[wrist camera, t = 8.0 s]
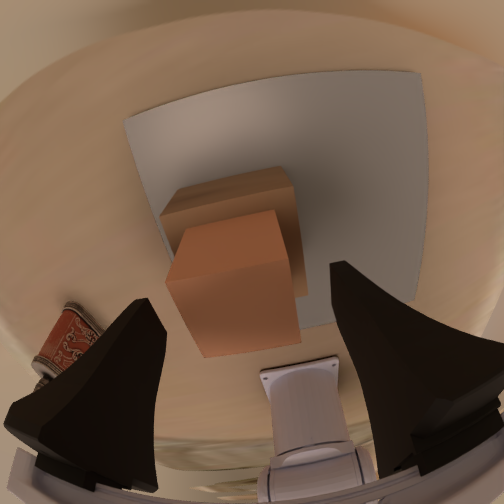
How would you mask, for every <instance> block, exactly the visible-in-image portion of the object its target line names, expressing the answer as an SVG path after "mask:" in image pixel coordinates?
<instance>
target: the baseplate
mask: <svg viewBox="0 0 504 504" xmlns="http://www.w3.org/2000/svg"><path fill="white" fill-rule="evenodd" d="M123 124H124V128H125V131H126V134H127V138H128V141H129V144H130V148H131V151H132V154H133V157H134V161H135V164H136V167H137V170H138V173H139V176H140V179H141V182H142V185H143V188H144V190H145V193H146V196H147V199H148V202H149V204H150V207H151V210H152V213H153V215H154V218H155V221H156V223H157V226H158V228H159V231H160V234H161V236H162V239H163V241H164V244H165V246H166V249H167V251H168V254H169V256H170V258H171V261H172V263H173V260H174V255H173V252H172V250H171V247H170V245H169V242H168V239H167V237H166V234H165V232H164V229H163V226H162V224H161V221H160V218H159V216H160V214H161V213H162V211H163V210H164V208H165V207H166V205H167V204H168V202H169V201H170V200H171V198H172V197H173V195H174V194H175V192H176V191H177V190H178V189H181V188H185V187H189V186H192V185H196V184H200V183H204V182H208V181H212V180H216V179H220V178H225V177H229V176H233V175H238V174H242V173H247V172H252V171H256V170H261V169H266V168H271V167H276V166H281V167H282V168H283V170H284V172H285V173H286V175H287V177H288V178H289V180H290V181H291V183H292V185H293V187H294V193H295V199H296V206H297V212H298V219H299V225H300V232H301V239H302V246H303V254H304V262H305V269H306V278H307V286H308V295H307V296H303V297H298V298H295V302H296V309H297V315H298V322H299V329H300V330H301V329H306V328H310V327H315V326H320V325H324V324H328V323H333V322H336V319H335V315H334V312H333V308H332V305H331V286H330V268H329V263H333V262H338V261H342V260H345V261H347V262H348V263H349V264H351V265H352V266H353V267H354V268H356V269H357V270H358V271H359V272H361V273H362V274H363V275H365V276H366V277H367V278H368V279H370V280H371V281H372V282H374V283H375V284H376V285H378V286H379V287H380V288H382V289H383V290H384V291H386V292H387V293H389V294H390V295H392V296H393V297H395V298H396V299H398V300H399V301H401V302H403V303H406V302H410V301H413V300H414V299H415V295H416V290H417V284H418V279H419V273H420V267H421V261H422V254H423V247H424V238H425V229H426V218H427V203H428V172H429V165H428V134H427V120H426V109H425V100H424V93H423V86H422V79H421V73H414V72H400V71H376V70H355V71H330V72H316V73H306V74H296V75H288V76H281V77H274V78H268V79H262V80H256V81H251V82H246V83H241V84H236V85H232V86H227V87H223V88H219V89H215V90H211V91H207V92H203V93H200V94H196V95H193V96H189V97H186V98H183V99H180V100H176V101H173V102H170V103H167V104H164V105H161V106H158V107H156V108H153V109H150V110H147V111H145V112H142V113H140V114H137V115H134V116H132V117H130V118H127V119H125V120H123Z"/></svg>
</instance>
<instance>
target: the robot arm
mask: <svg viewBox="0 0 504 504" xmlns="http://www.w3.org/2000/svg"><path fill="white" fill-rule="evenodd" d="M329 268H330V286H331V305H332V308H333V312H334V315H335V319H336V322H337V325H338V328H339V330H340V333H341V335H342V337H343V340H344V342H345V344H346V347H347V349H348V352H349V354H350V356H351V359H352V361H353V364H354V366H355V368H356V371H357V374H358V376H359V379H360V383H361V386H362V390H363V394H364V398H365V402H366V406H367V410H368V415H369V419H370V424H371V429H372V434H373V440H374V446H375V452H376V459H377V468H378V474H379V479H380V480H376V474H375V470H374V466H373V462H372V459H371V456H370V453H369V451H368V450H367V449H365V448H363V447H362V446H358V447H355V449H354V445H353V441H352V440H350V437H349V433H348V429H347V425H346V421H345V417H344V413H343V409H342V405H341V401H340V397H339V393H338V389H337V386H338V369H339V360H338V357H331V358H327V359H322V360H318V361H313V362H308V363H304V364H299V365H293V366H288V367H283V368H277V369H271V370H265V371H261V372H260V378H261V381H262V384H263V386H264V389H265V392H266V394H267V397H268V399H269V402H270V405H271V416H272V427H273V439H274V451H275V457H271V458H270V465H268V466H265V467H264V469H263V471H262V472H261V473H260V475H259V477H258V483H257V495H258V501H259V503H203V502H191V501H181V500H172V499H165V498H159V497H153V496H147V495H142V494H137V493H133V492H128V491H124V490H122V488H123V489H128V490H131V489H134V490H139V491H145V492H149V493H154V492H155V491H157V490H158V483H157V476H156V470H155V458H154V412H155V402H156V396H157V391H158V386H159V382H160V377H161V372H162V368H163V363H164V358H165V352H166V341H167V331H166V330H165V328H164V326H163V325H162V323H161V321H160V319H159V318H158V316H157V314H156V312H155V310H154V309H153V307H152V305H151V303H150V301H149V299H148V298H143V299H136V300H134V301H133V302H132V303H131V304H130V305H129V306H128V307H127V308H126V309H125V310H124V311H123V312H122V313H121V314H120V315H119V316H118V317H117V319H116V320H115V321H114V322H113V323H112V324H111V325H110V326H109V327H108V328H107V330H106V331H105V332H104V333H103V334H102V335H101V336H100V337H99V338H98V339H97V340H96V341H95V342H94V343H93V344H92V345H91V346H90V348H89V349H88V350H87V351H86V352H85V353H84V354H83V355H82V356H80V357H79V358H78V359H77V360H76V361H75V362H74V363H73V364H72V365H70V366H69V367H68V368H67V369H66V370H64V371H63V372H62V373H60V374H59V375H58V376H57V377H55V378H54V379H53V380H51V381H50V382H49V383H47V384H46V385H44V386H43V387H41V388H39V389H38V390H36V391H35V392H33V393H31V394H29V395H27V396H25V397H23V398H21V399H20V400H18V401H16V402H13V403H12V405H11V407H10V409H9V411H8V414H7V416H6V418H5V421H4V427H5V428H6V429H7V430H8V431H9V432H10V433H11V434H13V435H14V436H15V437H17V438H18V439H19V440H21V441H22V442H23V443H25V444H26V445H28V446H29V447H31V448H32V449H34V450H35V451H37V452H38V455H37V457H36V456H34V455H32V454H30V453H29V452H26V451H25V450H23V449H21V448H17V451H16V454H15V457H14V461H13V465H12V468H11V472H10V476H9V480H8V485H7V489H8V491H10V492H11V493H12V494H13V495H15V496H16V497H17V498H19V499H20V500H21V501H22V502H24V503H25V504H491V503H492V502H493V501H495V500H496V499H497V498H498V497H499V496H500V495H501V494H502V493H503V492H504V412H503V413H501V414H500V413H499V411H498V409H497V408H499V407H500V406H501V402H500V401H499V398H498V395H499V394H500V393H501V392H502V391H503V390H504V343H500V342H496V341H492V340H487V339H484V338H480V337H477V336H474V335H471V334H468V333H465V332H462V331H459V330H457V329H454V328H452V327H449V326H447V325H445V324H442V323H440V322H438V321H436V320H433V319H431V318H429V317H427V316H425V315H424V314H422V313H420V312H418V311H416V310H414V309H413V308H411V307H409V306H407V305H406V304H404V303H403V302H401V301H399V300H398V299H396V298H395V297H393V296H392V295H390V294H389V293H387V292H386V291H384V290H383V289H382V288H380V287H379V286H378V285H376V284H375V283H374V282H372V281H371V280H370V279H368V278H367V277H366V276H365V275H363V274H362V273H361V272H359V271H358V270H357V269H356V268H354V267H353V266H352V265H351V264H349V263H348V262H347V261H345V260H342V261H338V262H333V263H329ZM381 498H382V499H381ZM378 499H380V500H379V501H378Z"/></svg>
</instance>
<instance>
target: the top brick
mask: <svg viewBox="0 0 504 504" xmlns="http://www.w3.org/2000/svg"><path fill="white" fill-rule="evenodd" d="M165 284H166V286H167V288H168V290H169V292H170V294H171V296H172V298H173V300H174V302H175V304H176V306H177V308H178V310H179V312H180V314H181V316H182V318H183V320H184V322H185V324H186V326H187V328H188V329H189V331H190V333H191V335H192V337H193V339H194V341H195V342H196V344H197V346H198V348H199V350H200V352H201V353H202V355H203V357H204V358H208V357H216V356H224V355H232V354H239V353H246V352H252V351H258V350H264V349H270V348H276V347H281V346H287V345H292V344H297V343H301V336H300V329H299V322H298V315H297V309H296V302H295V296H294V289H293V283H292V277H291V271H290V265H289V259H288V255H287V252H286V248H285V245H284V241H283V237H282V234H281V230H280V227H279V224H278V220H277V217H276V213H275V210H269V211H264V212H259V213H254V214H250V215H245V216H240V217H236V218H231V219H227V220H222V221H218V222H213V223H209V224H204V225H200V226H196V227H192V228H187V229H186V230H185V232H184V235H183V237H182V240H181V242H180V245H179V247H178V250H177V252H176V255H175V257H174V260H173V263H172V265H171V268H170V271H169V273H168V276H167V279H166V281H165Z"/></svg>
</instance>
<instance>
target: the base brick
mask: <svg viewBox="0 0 504 504" xmlns="http://www.w3.org/2000/svg"><path fill="white" fill-rule="evenodd" d="M269 210H275V213H276V217H277V220H278V224H279V227H280V230H281V234H282V237H283V241H284V245H285V248H286V252H287V255H288V259H289V265H290V271H291V277H292V283H293V289H294V296H295V298H298V297H303V296H307V295H308V286H307V278H306V269H305V262H304V254H303V246H302V239H301V232H300V225H299V219H298V212H297V206H296V199H295V193H294V187H293V185H292V183H291V181H290V180H289V178H288V177H287V175H286V173H285V172H284V170H283V168H282V167H281V166H276V167H271V168H266V169H261V170H256V171H252V172H247V173H242V174H238V175H233V176H229V177H225V178H220V179H216V180H212V181H208V182H204V183H200V184H196V185H192V186H189V187H185V188H181V189H178V190H177V191H176V192H175V194H174V195H173V197H172V198H171V200H170V201H169V202H168V204H167V205H166V207H165V208H164V210H163V211H162V213H161V214H160V216H159V218H160V221H161V224H162V226H163V229H164V232H165V234H166V237H167V239H168V242H169V245H170V247H171V250H172V252H173V255H174V257H175V255H176V252H177V250H178V247H179V245H180V242H181V240H182V237H183V235H184V232H185V230H186V229H187V228H192V227H196V226H200V225H204V224H209V223H213V222H218V221H222V220H227V219H231V218H236V217H240V216H245V215H250V214H254V213H259V212H264V211H269Z"/></svg>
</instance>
